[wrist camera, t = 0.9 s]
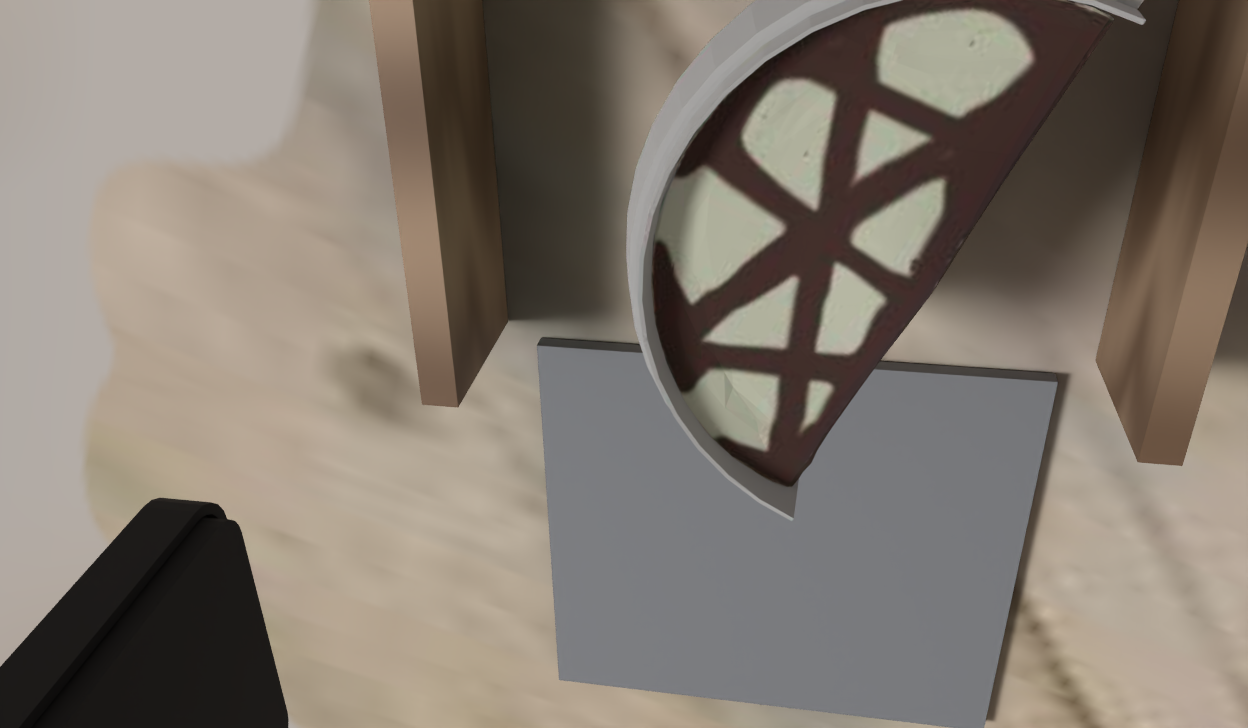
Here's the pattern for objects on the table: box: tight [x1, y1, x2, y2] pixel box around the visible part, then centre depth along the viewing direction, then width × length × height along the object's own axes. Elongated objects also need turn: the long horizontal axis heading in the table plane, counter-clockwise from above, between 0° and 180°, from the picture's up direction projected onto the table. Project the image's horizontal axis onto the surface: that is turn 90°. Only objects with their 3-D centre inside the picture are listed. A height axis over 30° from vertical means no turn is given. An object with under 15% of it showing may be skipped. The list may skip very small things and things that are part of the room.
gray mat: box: [537, 338, 1058, 728], centre depth 35 cm, size 14×15×1 cm
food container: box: [626, 0, 1146, 521], centre depth 23 cm, size 12×6×10 cm, turn 156°
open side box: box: [369, 0, 1248, 466], centre depth 25 cm, size 16×19×5 cm
